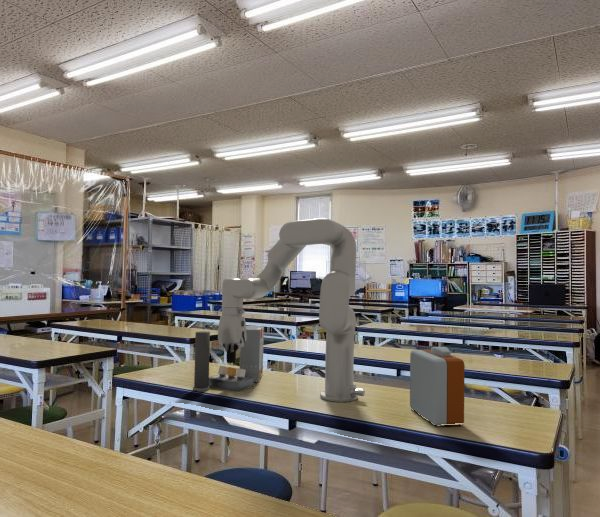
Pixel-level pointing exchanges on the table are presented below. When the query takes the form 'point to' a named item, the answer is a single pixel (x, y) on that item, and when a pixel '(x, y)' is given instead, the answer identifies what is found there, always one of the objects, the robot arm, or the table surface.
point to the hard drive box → (253, 352)
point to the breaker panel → (230, 382)
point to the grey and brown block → (437, 385)
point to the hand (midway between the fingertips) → (231, 362)
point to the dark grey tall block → (202, 361)
